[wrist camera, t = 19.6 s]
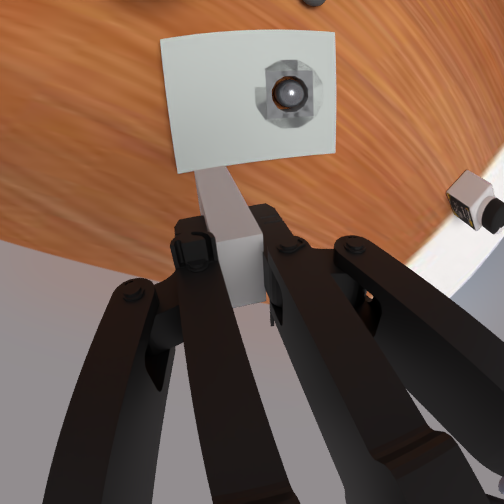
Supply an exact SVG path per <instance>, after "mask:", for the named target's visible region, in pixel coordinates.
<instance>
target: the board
mask: <svg viewBox="0 0 504 504" xmlns="http://www.w3.org/2000/svg"><path fill="white" fill-rule="evenodd" d="M160 44H161V54H162V63H163V72H164V80H165V89H166V97H167V104H168V112H169V119H170V126H171V133H172V140H173V146H174V153H175V159H176V165H177V172H178V174H180V173H185V172H191V171H194V170H200V169H206V168H212V167H218V166H224V165H225V166H228V165H234V164H241V163H248V162H256V161H263V160H271V159H280V158H288V157H298V156H307V155H318V154H329V153H335V143H336V55H335V32H324V31H307V30H243V31H226V32H214V33H204V34H195V35H187V36H179V37H173V38H166V39H160ZM284 76H290V77H292V78H294V79H296V81H297V82H298V83H300V84H301V86H302V87H303V89H304V98H303V100H302V102H301V103H300V104H299V105H297V106H295V107H291V108H289V109H278V108H277V107H276V105H275V104H274V102H273V101H272V89H273V87H274V85H275V83H276V81H278V80H279V79H281V78H282V77H284Z"/></svg>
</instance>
